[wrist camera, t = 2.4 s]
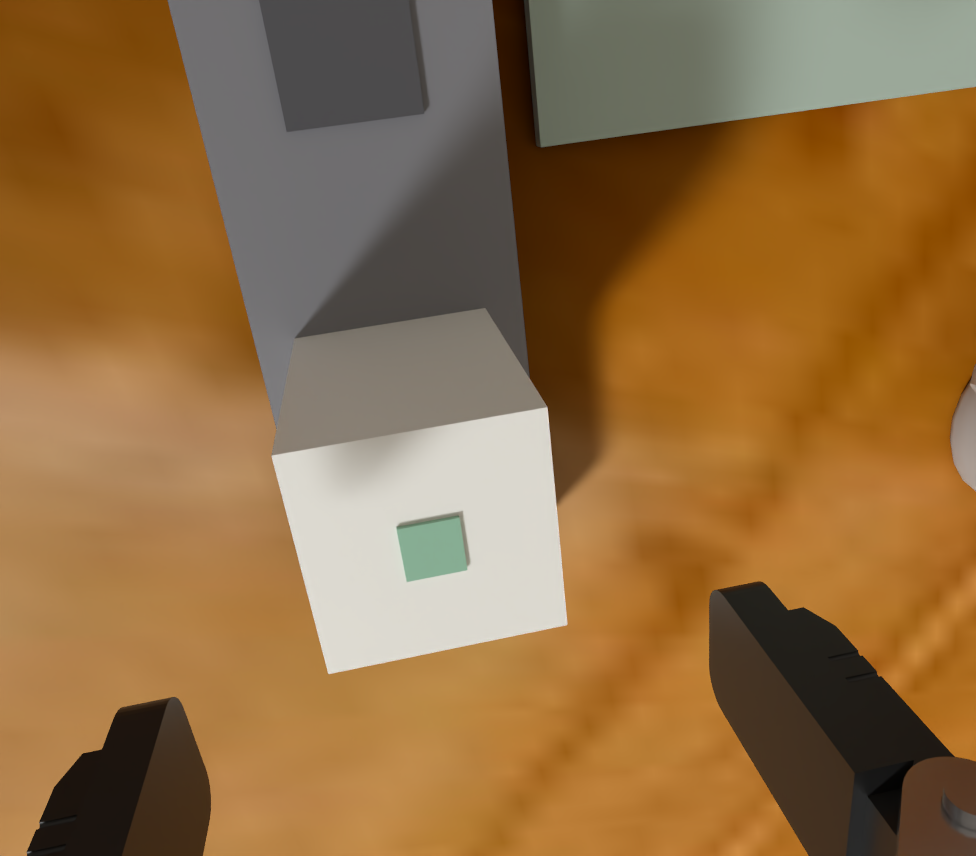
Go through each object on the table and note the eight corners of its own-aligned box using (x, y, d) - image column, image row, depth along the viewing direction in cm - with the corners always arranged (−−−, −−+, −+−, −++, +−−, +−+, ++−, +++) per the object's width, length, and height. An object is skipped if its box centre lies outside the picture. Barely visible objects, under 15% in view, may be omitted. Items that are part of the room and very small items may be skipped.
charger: (298, 319, 22) (270, 457, 14) (474, 291, 22) (548, 409, 14) (333, 476, 24) (328, 677, 16) (494, 447, 24) (568, 627, 16)
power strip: (-81, -1127, 13) (-265, -1653, 9) (344, -1114, 14) (344, -1594, 10) (331, 573, 27) (328, 654, 23) (527, 535, 28) (557, 608, 24)
